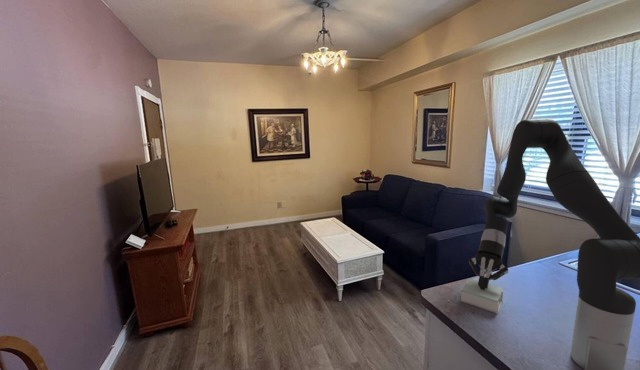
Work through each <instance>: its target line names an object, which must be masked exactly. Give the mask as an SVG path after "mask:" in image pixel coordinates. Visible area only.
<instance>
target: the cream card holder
mask: <svg viewBox="0 0 640 370" xmlns="http://www.w3.org/2000/svg"><path fill="white" fill-rule="evenodd" d="M503 299H504V290H503V291H502V293H501V296H500V299H499V301H498V303H496V302H493V301H490V300H486V299H483V298H480V297H477V296H474V295H471V294H468V293H465V292H462V290H461V293H460V302H461V303H465V304H467V305H470V306H473V307H476V308H478V309H481V310H484V311H488V312H490V313H493V314H496V315H498V314H499V312H500V309H501V307H502V303H503Z"/></svg>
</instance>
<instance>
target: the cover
mask: <svg viewBox="0 0 640 370" xmlns="http://www.w3.org/2000/svg"><path fill="white" fill-rule="evenodd" d="M478 281H479V280H475V279H471V278H468V279H467V280H466V282H465V284H464V286H463V287H462V288H461V291H462V292H465V293H468V294H471V295H474V296H477V297H480V298H483V299H486V300H490V301H493V302H496V303H498V301H499V299H500V296H501V293H502V291H503V292H504V289H503V288H502V287H500V286H497V285H493V284H488V288H487V289H486V288H485V290H484V289H480V286H479V285H478Z"/></svg>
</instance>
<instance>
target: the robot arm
mask: <svg viewBox="0 0 640 370" xmlns="http://www.w3.org/2000/svg"><path fill="white" fill-rule="evenodd" d="M509 144H510V145H509V149H508V153H507V158H506V165H505V168H504V172H503V175H502V177H501V179H500V182H499V183H498V186H497V189H496V193H497V195H499V196H500V197H499V196H490V197H488V198H487V199H486V201H485V203H484V209H485V210H484V211H485V216H486V220H485V226H484V230H483V233H482V235H481V239H480V243H479V247H478V250H477V253H476V254H475V256H474V257H472V258H471V257H469V258H467V261H468V263H469V266H470V267H471V268H472V270H473V272H474V273H475V275H476V276H477V277H479V278H478V280H477V281H478V285H479V286H480V289H484V290H485V288H486V289H487V288H488V284H489V283H490V281H491V280H493V281H496V280H498V279H500V278H502V277H503V276H505V275H507V274H508V273H509V267H506V266H505V265H504V264H503V255H504V250H505V247H506V240H507V238H506V237H507V231H508V227H509V223H508V221H506V220H505V219H511V218H513V217H515V216H516V214H517V212H518V200H519V196H520V193H521V191H522V189H523V187H524V185H525V183H526V181H527V180H526V179H527V178H526V177H527V176H526V169H525V166H524V163H523V162H524V161H523V157H524V154H525V152H526V150H527V149H529V148H531V149H533V148H536V149H539V148H541V149H542V150H544V152H545V153H546V155H547V157H548V159H549V165H548V169H547V170H546V175H545V181H546V185H547V187H548V189H549V190H550V192H551V194H552V195H553V197H554V199H555V200H556V202H557V203H559V205H561V206H562V207H563V208H564V209H565V210H567V211H568V212H570V213H571V214H573V215H574V216H576V217H577V218H579V219H581V220H582V221H583V222H585V223H586V224H588V226H590V228H591V229H593V231H594V232H595V233H596V234H597V235H598V237H599V238H589V239H586V240H584V241H583V242H582V243H581V245H580V246H579V250H578V254H577V268H576V269H577V271H576V272H577V273H576V282H577V283H576V284H577V288H578V298H577V305H576V312H575V319H574V327H573V333H572V341H571V342H572V343H571V347H570V357H571V359H572V360H573V362H574V363H576V365H577V366H579V367H581V368H582V369H583V370H626V369H625V368H626V367H625V366H626V362H627V356H628V351H629V345H630V344H629V343H630V339H631V333H632V329H633V323H634V318H635V312H636V306H637V302H636V299H635V297H633V296H632V295H631V294H629V292H627V291H624V290H622V289H621V288H619V287H617V280H640V237H639V235H638V234H637V233H636V232H635V231H634V230H633V229H632V227H631V226H630V225H628V223H627V222H626V221H625V220H624V219H623V217H622V216H621V215H620V214H619V213H618V212H617V210H616V209H615V208H614V206H613V205H612V203H611V202H610V201H609V200H608V198H607V197H606V196H605V194H604V193H603V191H602V190H601V189H600V187H599V185H598V184H597V182H596V181H595V179H594V178H593V177H592V175H591V174H590V172H589V171H588V170H587V169H586V167H584V165H583V163H582V161H581V160H580V159H579V157H578V155H577V154H576V152H575V151H574V150H573V148H572V146H571V144H570V143H569V141H568V138H567V136H566V135H565V132H564V130H563V128H562V127H561V125H560V124H559V123H558V122H557V121H556V120H554V119H549V118H533V119H532V118H530V119H529V118H528V119H522V120H521V121H519V122H518V123H517V124H516V125H515V127H514V130H513V133H512V135H511V139H510V143H509ZM501 197H502V198H501ZM504 218H505V219H504ZM476 264H478V266H479V268H480V269H478V268H477V267H476ZM498 269H499V270H498ZM479 270H480V271H479ZM496 270H497V271H496ZM493 272H495V273H493Z"/></svg>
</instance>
